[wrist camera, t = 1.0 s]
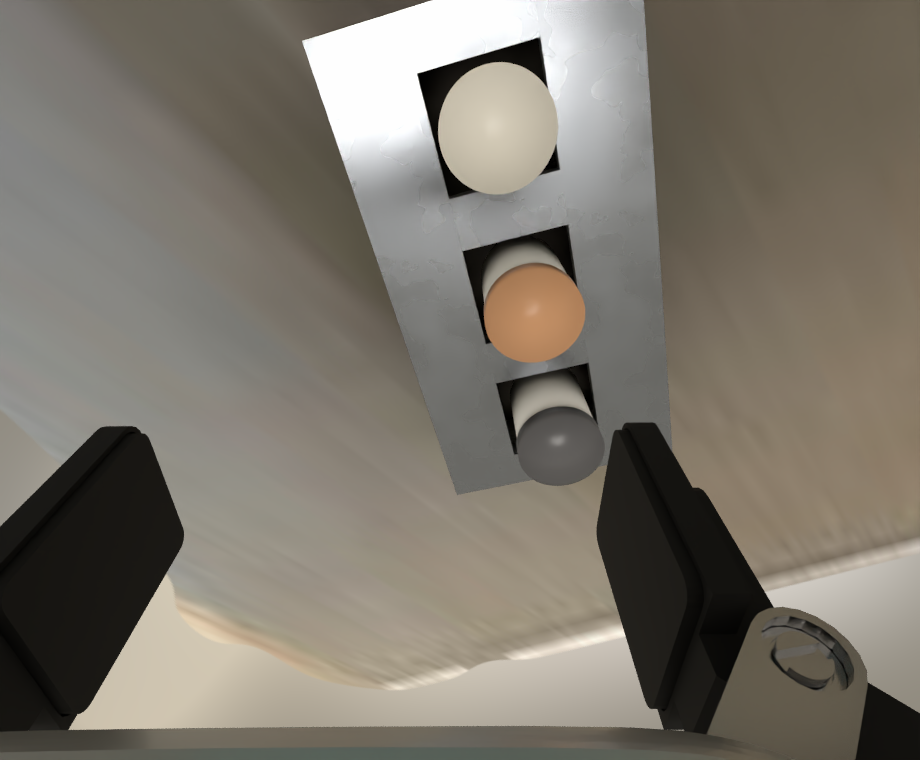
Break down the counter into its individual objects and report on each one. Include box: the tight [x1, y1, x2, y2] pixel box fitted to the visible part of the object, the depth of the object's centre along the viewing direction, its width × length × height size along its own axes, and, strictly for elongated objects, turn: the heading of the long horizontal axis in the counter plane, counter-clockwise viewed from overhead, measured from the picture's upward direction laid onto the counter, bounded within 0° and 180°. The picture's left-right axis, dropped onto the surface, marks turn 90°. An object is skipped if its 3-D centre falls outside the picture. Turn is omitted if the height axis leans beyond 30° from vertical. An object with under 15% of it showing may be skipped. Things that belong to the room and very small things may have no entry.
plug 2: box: [510, 368, 605, 486], centre depth 31 cm, size 5×5×6 cm
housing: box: [302, 0, 672, 495], centre depth 30 cm, size 14×26×6 cm, turn 14°
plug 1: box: [438, 62, 558, 195], centre depth 23 cm, size 5×5×6 cm
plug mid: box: [481, 236, 585, 363], centre depth 27 cm, size 5×5×6 cm
